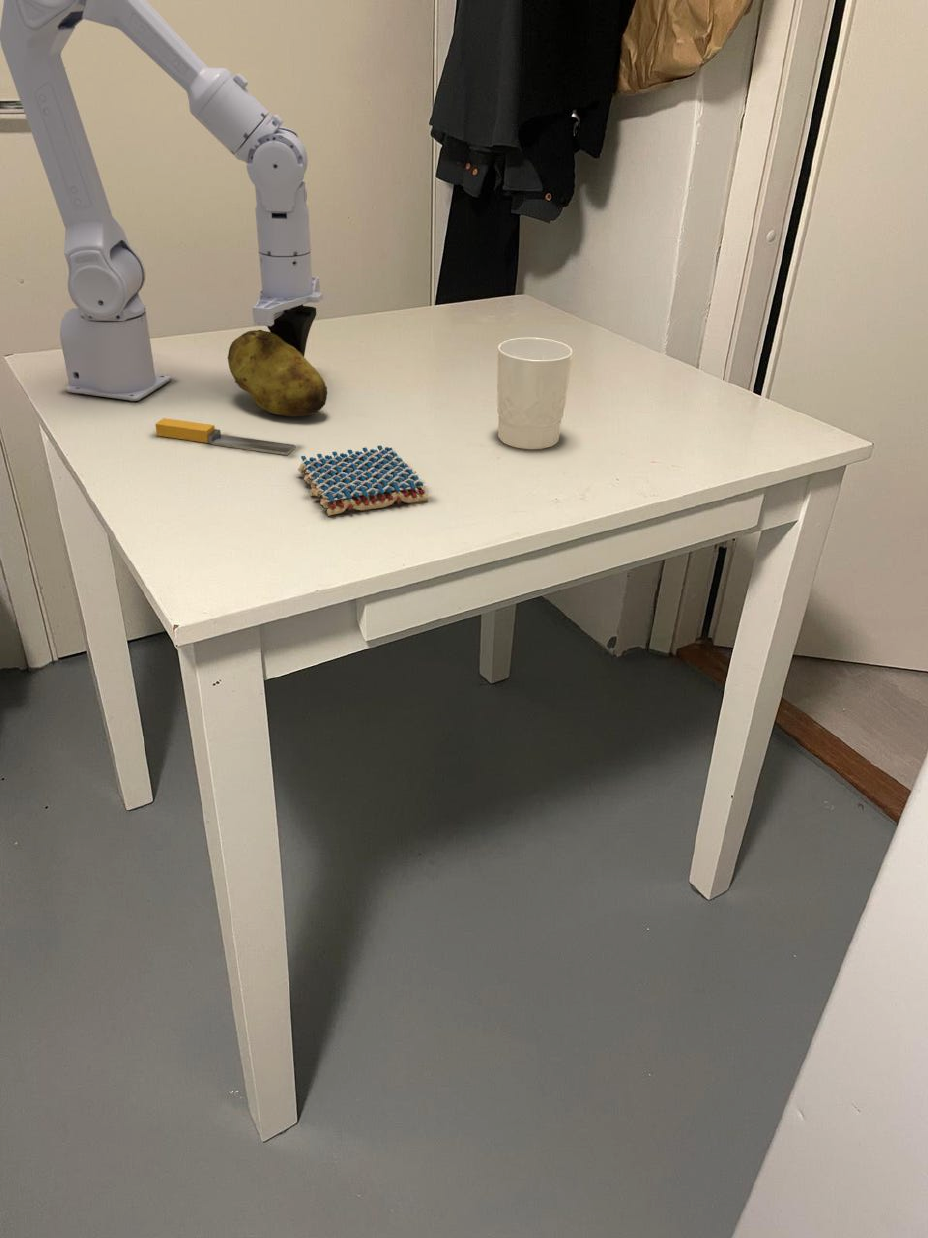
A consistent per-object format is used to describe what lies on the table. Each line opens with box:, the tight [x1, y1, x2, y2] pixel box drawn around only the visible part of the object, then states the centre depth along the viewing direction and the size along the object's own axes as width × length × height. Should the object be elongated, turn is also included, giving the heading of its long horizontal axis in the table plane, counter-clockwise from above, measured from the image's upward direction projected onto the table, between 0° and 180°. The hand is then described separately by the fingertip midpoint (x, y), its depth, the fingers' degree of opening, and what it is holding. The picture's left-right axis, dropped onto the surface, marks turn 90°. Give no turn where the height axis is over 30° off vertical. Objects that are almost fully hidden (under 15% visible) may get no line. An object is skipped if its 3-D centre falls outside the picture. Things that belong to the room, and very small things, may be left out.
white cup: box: [496, 337, 574, 450], centre depth 103 cm, size 8×8×10 cm
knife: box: [155, 417, 296, 456], centre depth 102 cm, size 15×2×1 cm, turn 75°
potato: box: [227, 329, 328, 417], centre depth 109 cm, size 8×13×8 cm, turn 32°
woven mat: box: [297, 445, 430, 516], centre depth 93 cm, size 10×11×2 cm
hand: (292, 370), depth 115 cm, fingers closed
